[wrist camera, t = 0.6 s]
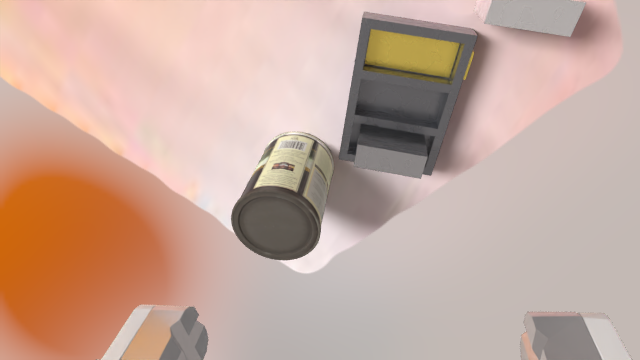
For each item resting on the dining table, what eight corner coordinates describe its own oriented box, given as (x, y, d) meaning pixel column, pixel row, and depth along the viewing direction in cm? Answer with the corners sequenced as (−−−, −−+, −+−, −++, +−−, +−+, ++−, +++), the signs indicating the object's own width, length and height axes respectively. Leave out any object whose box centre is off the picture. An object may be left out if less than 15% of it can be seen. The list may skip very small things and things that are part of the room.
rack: (364, 11, 44) (359, 26, 38) (475, 29, 43) (488, 46, 38) (341, 147, 54) (334, 175, 48) (431, 163, 53) (436, 194, 47)
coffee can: (284, 200, 60) (259, 268, 49) (250, 145, 56) (213, 205, 44) (346, 182, 57) (335, 250, 45) (315, 120, 52) (294, 179, 41)
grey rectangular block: (483, -21, 41) (495, -12, 36) (562, -9, 40) (586, 2, 35) (473, 10, 42) (483, 23, 38) (549, 22, 42) (570, 36, 37)
